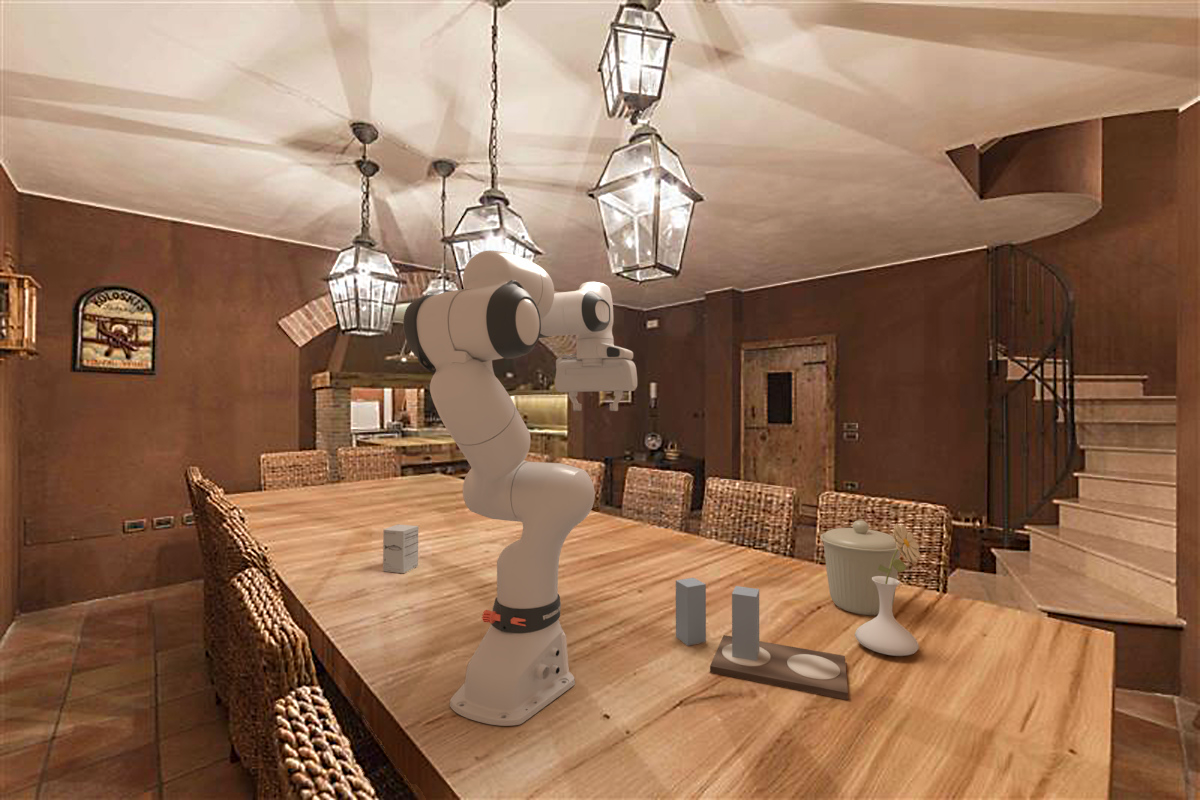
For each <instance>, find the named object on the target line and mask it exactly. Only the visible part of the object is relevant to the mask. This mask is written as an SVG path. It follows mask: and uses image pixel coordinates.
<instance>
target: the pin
mask: <svg viewBox="0 0 1200 800" xmlns="http://www.w3.org/2000/svg"><path fill="white" fill-rule="evenodd" d="M731 636H732V657H736V658H742V659H747V660H753V661H757V658H758V654H759V641H760V589H759V588H752V587H745V586H739V585H735V587H734V589H733V590H732V593H731Z"/></svg>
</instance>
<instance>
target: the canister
mask: <svg viewBox="0 0 1200 800" xmlns="http://www.w3.org/2000/svg"><path fill="white" fill-rule="evenodd" d="M819 538H820V540H821V541H822V542H823V549H824V550H823V551H824V552H823V553H824V557H825V558H824V559H825V569H826V576H827V583H828V590H829V594H830V595H829V596H830V598H831V599H832V602H833V603H834V604H835V605H836V606H837V607H838V608H840V609H841V610H844V611H847V612H849V613H851V614H852V613H853V614H857V615H861V616H862V615H863V616H878V614H879V610H880V599H879V593H878V589H877V586H876V584H875V583H874V581H873V580H872V577H875V576H885V577H887V573H885V572H882V571H879V570H878V568H879V566H880V565H882V566H884V567H886V568H888V569H889V567H890V564H891V561H892V557H893V555H894V553H895V551H896V549H897V547H896V546H897V544H895V542H894V538H893V535H892V534H888V533H886V532H882V531H878V530H873V529H870V525H869V523H868V522H866V521H865V520H860V519H858V520H855V521H853V523H852V527H838V528H833V529H829V530H827V531H826V532H823V533H821V535H820V536H819ZM900 557H901V553H900V551H897V553H896V555H895V558H894V560H895V559H899V560H900ZM893 562H894V561H893ZM891 570H892V571H891V572H890V573H889V577H891V578H894V579H897V580H898V573H899V572H898V571H897V570H896V569H895V568H894V567H893V565H892V567H891ZM896 589H897V588H896ZM896 589H895V591H894V594H893V600H892V607H893V605H894V601H895V597H896V596H895V595H896Z"/></svg>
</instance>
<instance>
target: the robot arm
mask: <svg viewBox="0 0 1200 800" xmlns="http://www.w3.org/2000/svg"><path fill="white" fill-rule="evenodd" d="M462 274H463V275H462V285H463V289H455V290H451V291H446V292H442V293H438V294H437V293H430V294H426V295H423V296H421V297H419V298H417V299H415V300H413V301H412V302H411V303H409V305H408V306H407V307H406V310H405V311H404V315H403V323H402V328H403V335H404V338H405V340H406V342H407V345H408V347H409V349H410V351H411V352H412V353H413V355H414V356H415V357H416V358H417V361H418V364H419V365H420V366H421V367H423V368H424V369H426V370H427V371H429V372H431V373H434V374H433V375H432V377H431V380H430V383H429V392H430V395H431V396H430V397H431V399H432V402H433V404H434V407H435V409H436V411H437V414H438V416H439V419H441V422H442V423H443V425H444V427H445V428H446V430H447V432H448V434H449V435H450V436H451V438H452V440H453V441H454V442H455V445H457V447H458V448H459V450H460V452H461V453H462V454H463V456H464V457H465V459H466V461H467V463H468V464H469V466H470V469H469V471H468V472H467V473H466V475H465V477H464V480H463V483H462V496H463V497H462V498H463V501H464V504H465V505H466V506H465V507H466V508H467V509H468V510H469V511H470V512H472V513H474V514H477V515H480V516H483V517H485V518H489V519H492V520H496V521H498V520H499V521H507V522H508V521H509V522H517V523H519V522H520V523H522V531H521V536H520V539H518V540H515V541H514V542H511V543H510V544H508V545H507V546H505V547H504V548H503V550H502V551H501V552H500V554H499V556H498V557H497V561H496V597H495V599H494V603H493V606H492V609H491V610H489V609H485V610H484V611H483V613H482V615H481V621H482V622H483V623H490V626H489V628H488V629H487V631H486V633H485V634H484V636H483V638H482V639H481V641H480V643H479V645H478V646H477V648H476V649H475V651H474V653H473V655H472V656H471V658H470V659H469V662H468V663H467V666H466V672H465V680H464V681H465V682H464V683H463V684H462V685H461V686H460V687H459V689H458V690H457V691H456V692H455V693H454V694H453V695H452V696H451V698H450V699H449V700H450V701H449V707H450V709H452V710H453V711H454V712H455V713H456V714H457V715H459V716H462V717H464V718H466V719H468V720H473V721H475V722H478V723H483V724H487V725H491V726H492V725H493V726H501V727H502V726H503V727H504V726H505V727H507V726H509V727H510V726H519V725H522V724H523V723H525V722H526V721H527V720H529V719H530V718H532V717H533V716H534V715H536V714H537V713H538V712H540V711H541V710H542V709H544V708H545V707H546V706H548V705H550V704H551V703H552V702H553V701H554V700H556V699H557V698H559V697H560V696H562V695H563V694H564V693H565V692H566V691H569V690H570V689H571V688H572V687H573V686H575V684H576V681H575V679H576V678H575V676H574V675H573V673H572V672H570V668H569V656H568V644H567V635H566V633H565V632H564V629H563V627H562V625H561V622H560V620H559V619H560V618H561V617H560V616H561V608H562V604H561V603H562V602H561V596H560V594H559V593H558V592H559V588H558V587H559V586H558V585H559V566H560V565H559V564H560V556H561V551H562V548H563V546H564V543H565V541H566V540H567V537H568V536H569V534H570V533H571V532H572V531H573V529H574V528H575V527H577V526H578V525H579V524H581V523H582V522H583V521H584V520H585V519H587V517H588V516H589V514H590V513H591V512H592V509H593V506H594V504H595V499H596V498H595V497H596V493H595V492H596V491H595V486H594V482H593V480H592V478H591V477H590V475H589V473H588V472H587V471H586V470H585V469H583V468H579V467H576V466H573V465H569V464H564V463H562V462H543V461H542V462H541V461H539V462H538V461H528V460H525V459H526V458H527V456H528V454H529V451H530V448H531V433H530V431H529V429H528V427H527V425H526V423H525V422H524V420H523V418H522V416H521V413H520V412H519V410H518V408H517V407H516V405H515V403H514V402H513V400H512V398H511V396H510V394H509V393H508V391H507V390H506V388H505V387H504V385H503V384H502V383H501V382H500V380H499V378H498V377H496V374H495V372H494V368H493V361H495V360H501V359H505V360H506V359H508V360H511V359H516V358H520V357H522V356H526V355H527V354H530V353H531V352H532V351H533V350H534V348H536V347H535V346H537V343H538V341H539V339H543V338H551V337H561V336H573V335H574V336H575V335H577V336H576V352H575V353H569V354H567V353H563V354H561V355H560V356H559V357H557V359H556V360H555V369H556V371H555V377H554V378H555V380H554V388H555V390H556V391H557V392H558V393H568V398H569V399H570V402H571V403H572V411H573V412H581V411H582V405H583V404H582V403H579V401H578V399H577V397H578V393H580V392H584V393H585V392H586V393H587V392H613V396H615V398H614V399H613V402H611V403H609V411H611V412H618V411H619V404H620V401H621V400H622V398H623V394H624V393H623V392H634V391H636V389H637V387H638V374H637V367H636V364H635V362H634V361H633V359H634V352H633V351H632V350H630V349H627V348H625V347H621V346H619V345H615V344H614V343H615V342H614V341H615V340H614V335H613V326H614V306H613V305H614V303H613V295H612V292H611V289H610V286H608V285H607V284H605V283H603V282H598V281H586V282H583V283H581V284H580V285H579V288H578V289H577V290H572V291H561V292H555V285H554V282H553V280H552V278H551V276H550V275H549V273H548V272H547V271H546V270H545V269H544V268H543V267H541V266H540V265H538V264H537V263H535V262H534V261H531V260H529V259H527V258H524V257H522V256H519V255H516V254H513V253H509V252H505V251H498V250H483V251H480V252H478V253H476V254H475V255H473V257H471V258H470V259H469V261H467V263H466V265H465V267H464V270H463V273H462ZM432 368H433V369H432Z"/></svg>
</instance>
